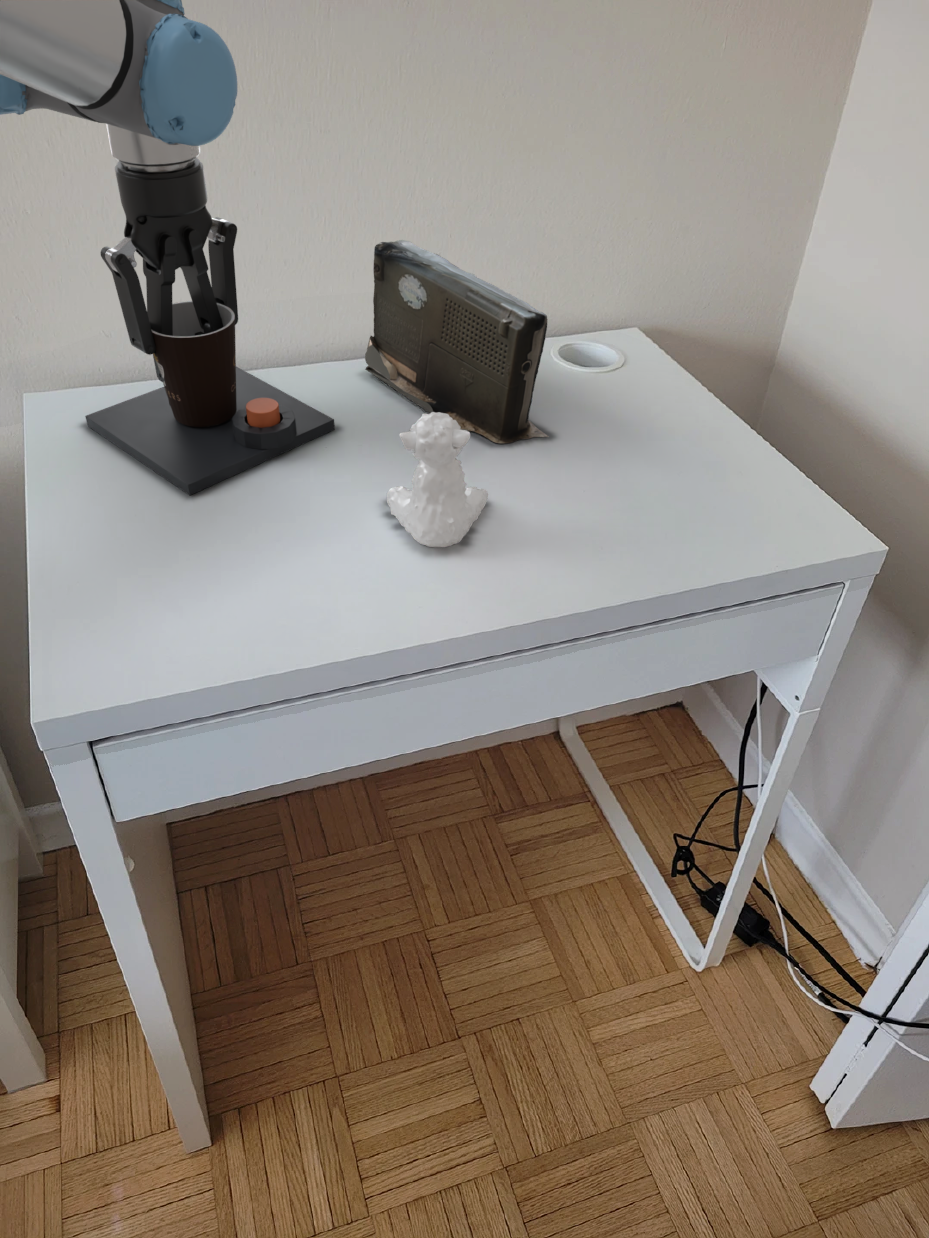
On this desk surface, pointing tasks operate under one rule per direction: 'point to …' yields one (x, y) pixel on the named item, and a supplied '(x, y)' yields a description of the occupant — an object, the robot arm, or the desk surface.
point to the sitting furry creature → (436, 484)
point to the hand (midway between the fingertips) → (197, 401)
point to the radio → (454, 342)
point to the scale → (207, 434)
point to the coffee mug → (198, 367)
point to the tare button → (263, 412)
